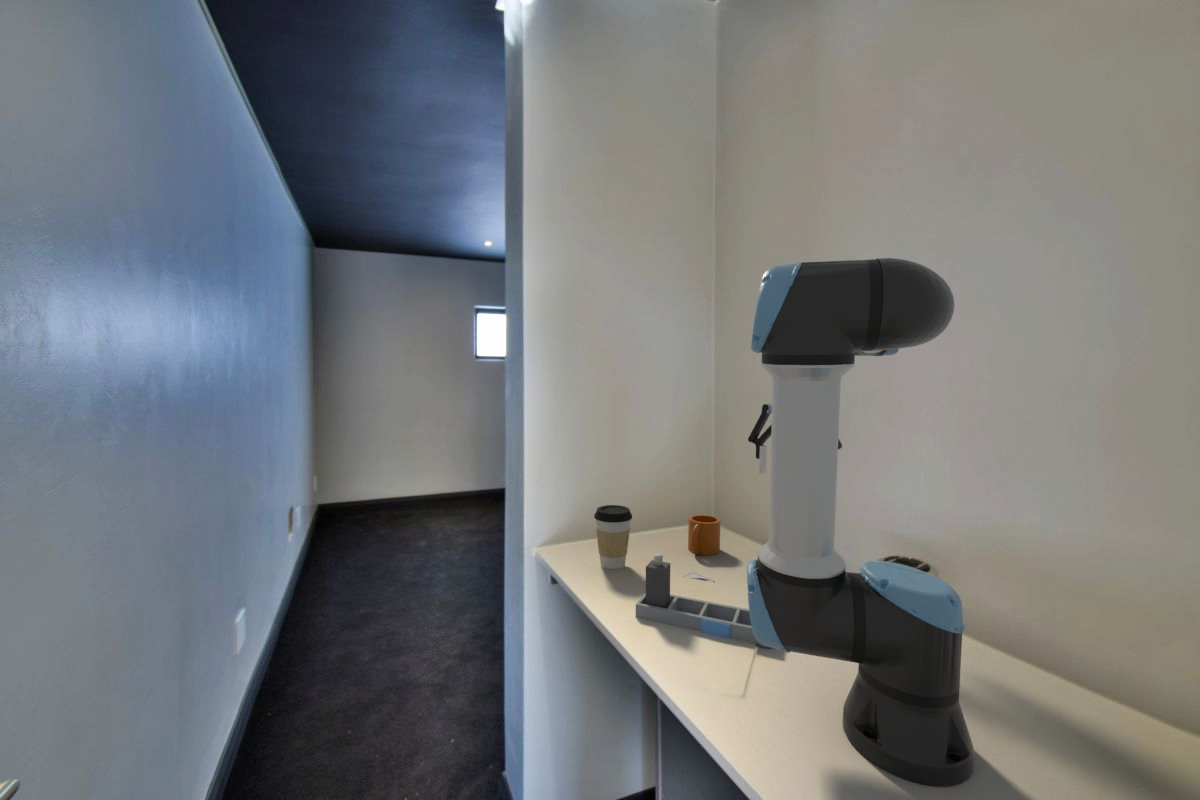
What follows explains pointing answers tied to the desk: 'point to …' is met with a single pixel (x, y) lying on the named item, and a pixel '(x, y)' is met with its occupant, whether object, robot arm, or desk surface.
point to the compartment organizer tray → (701, 617)
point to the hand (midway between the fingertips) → (792, 476)
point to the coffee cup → (613, 535)
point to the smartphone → (697, 577)
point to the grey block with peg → (658, 582)
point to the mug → (704, 534)
